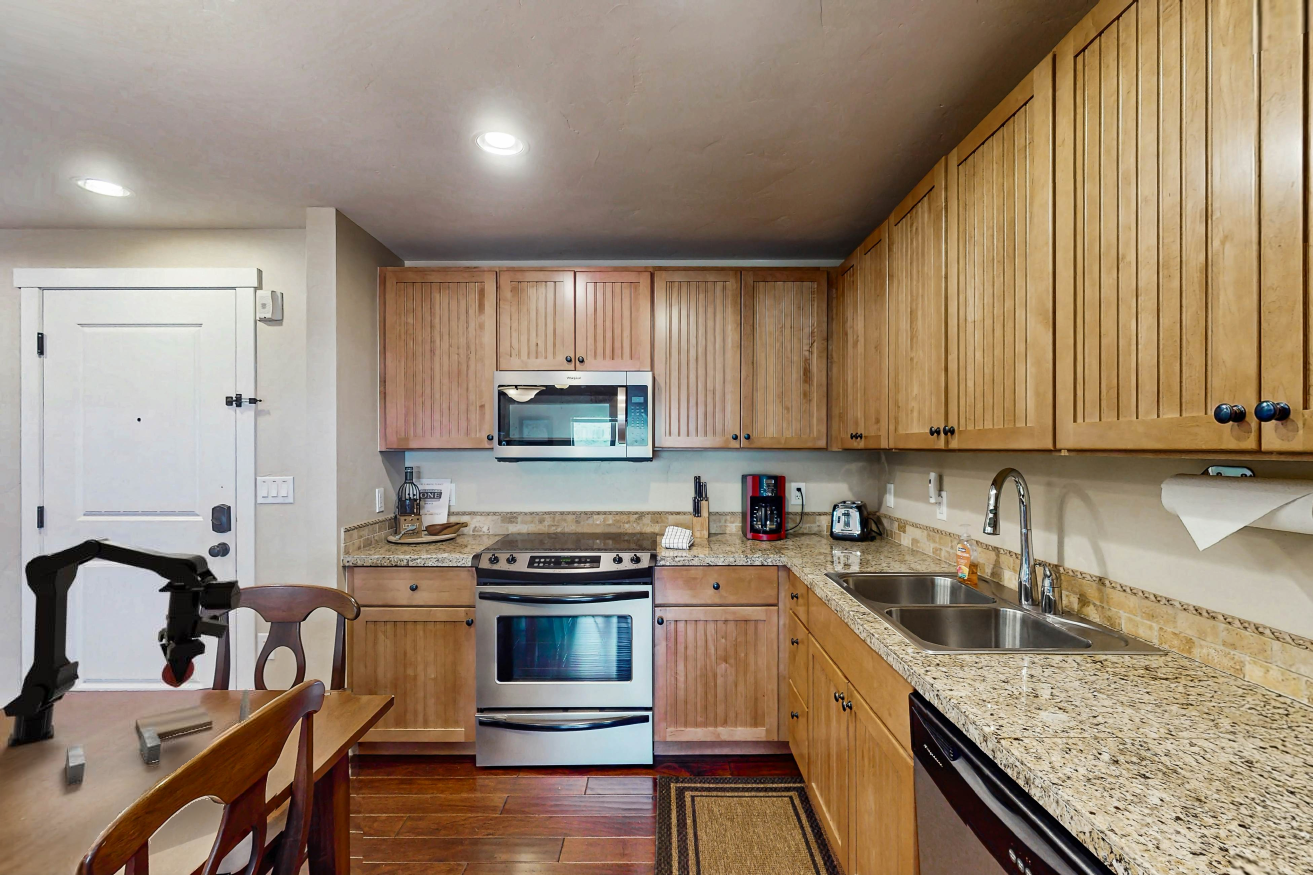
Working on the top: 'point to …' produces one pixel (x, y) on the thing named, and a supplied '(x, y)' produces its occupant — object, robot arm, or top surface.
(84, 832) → the top surface
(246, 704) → the screw
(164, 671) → the onion
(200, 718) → the tan board
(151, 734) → the twin grey rails
